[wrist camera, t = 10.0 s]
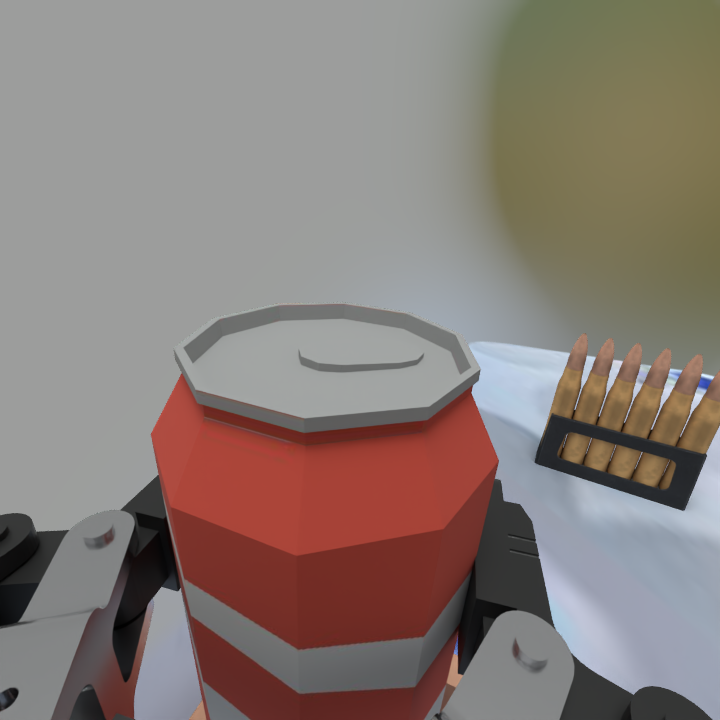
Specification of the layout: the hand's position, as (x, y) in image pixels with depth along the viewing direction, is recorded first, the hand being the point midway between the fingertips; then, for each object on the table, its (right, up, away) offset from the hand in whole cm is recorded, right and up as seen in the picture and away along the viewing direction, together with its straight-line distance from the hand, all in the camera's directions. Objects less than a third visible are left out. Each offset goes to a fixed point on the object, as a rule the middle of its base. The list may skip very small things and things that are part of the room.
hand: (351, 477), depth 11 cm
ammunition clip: (+21, -7, +22) cm, 31 cm away
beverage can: (-1, -7, +1) cm, 8 cm away
